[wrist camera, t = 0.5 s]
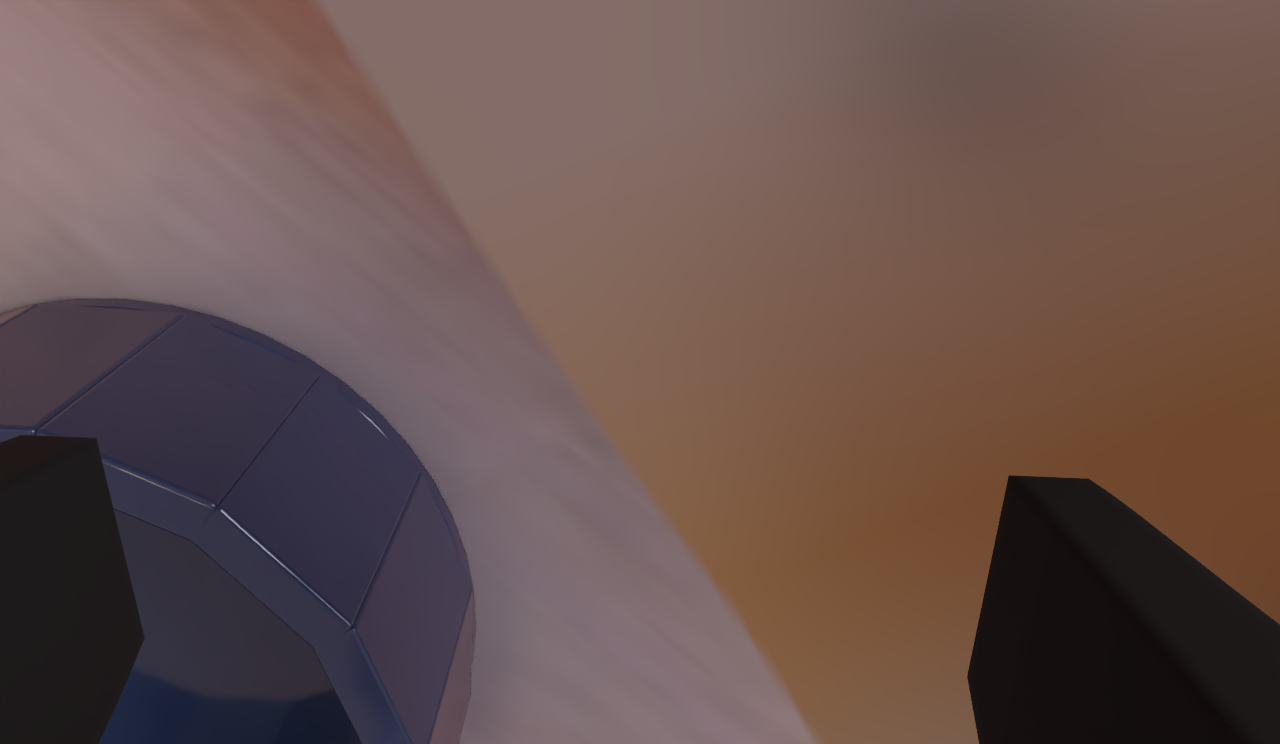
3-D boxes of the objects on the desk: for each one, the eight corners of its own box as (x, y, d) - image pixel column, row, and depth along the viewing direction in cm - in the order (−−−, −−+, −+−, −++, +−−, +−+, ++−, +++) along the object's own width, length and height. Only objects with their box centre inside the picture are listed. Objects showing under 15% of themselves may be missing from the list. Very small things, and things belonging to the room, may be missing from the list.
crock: (32, 914, 24) (-133, 1172, 19) (-308, 417, 20) (-636, 575, 15) (565, 770, 23) (541, 1007, 18) (316, 203, 19) (190, 297, 14)
